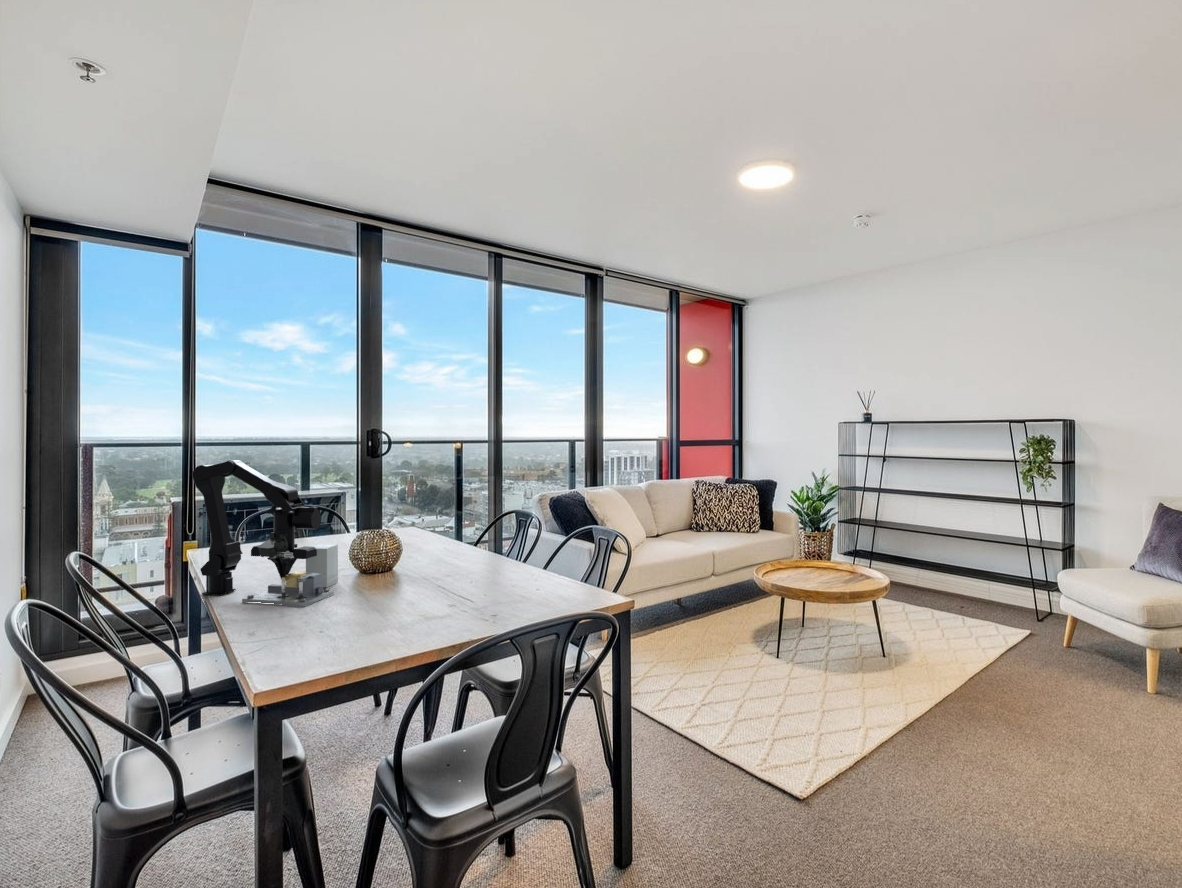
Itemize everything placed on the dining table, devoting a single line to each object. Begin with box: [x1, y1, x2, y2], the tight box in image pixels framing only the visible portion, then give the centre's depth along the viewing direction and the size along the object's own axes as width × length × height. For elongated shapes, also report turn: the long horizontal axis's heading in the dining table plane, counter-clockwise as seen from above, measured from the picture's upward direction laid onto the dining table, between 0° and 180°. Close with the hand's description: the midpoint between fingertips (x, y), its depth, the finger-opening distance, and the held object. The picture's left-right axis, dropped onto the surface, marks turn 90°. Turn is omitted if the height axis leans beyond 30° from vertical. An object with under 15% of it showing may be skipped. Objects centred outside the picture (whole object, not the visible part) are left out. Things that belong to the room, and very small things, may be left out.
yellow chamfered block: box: [281, 571, 306, 596], centre depth 180 cm, size 4×8×5 cm, turn 169°
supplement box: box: [305, 543, 339, 588], centre depth 196 cm, size 7×7×13 cm
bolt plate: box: [241, 573, 335, 608], centre depth 179 cm, size 20×14×7 cm
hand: (283, 579), depth 183 cm, fingers closed
